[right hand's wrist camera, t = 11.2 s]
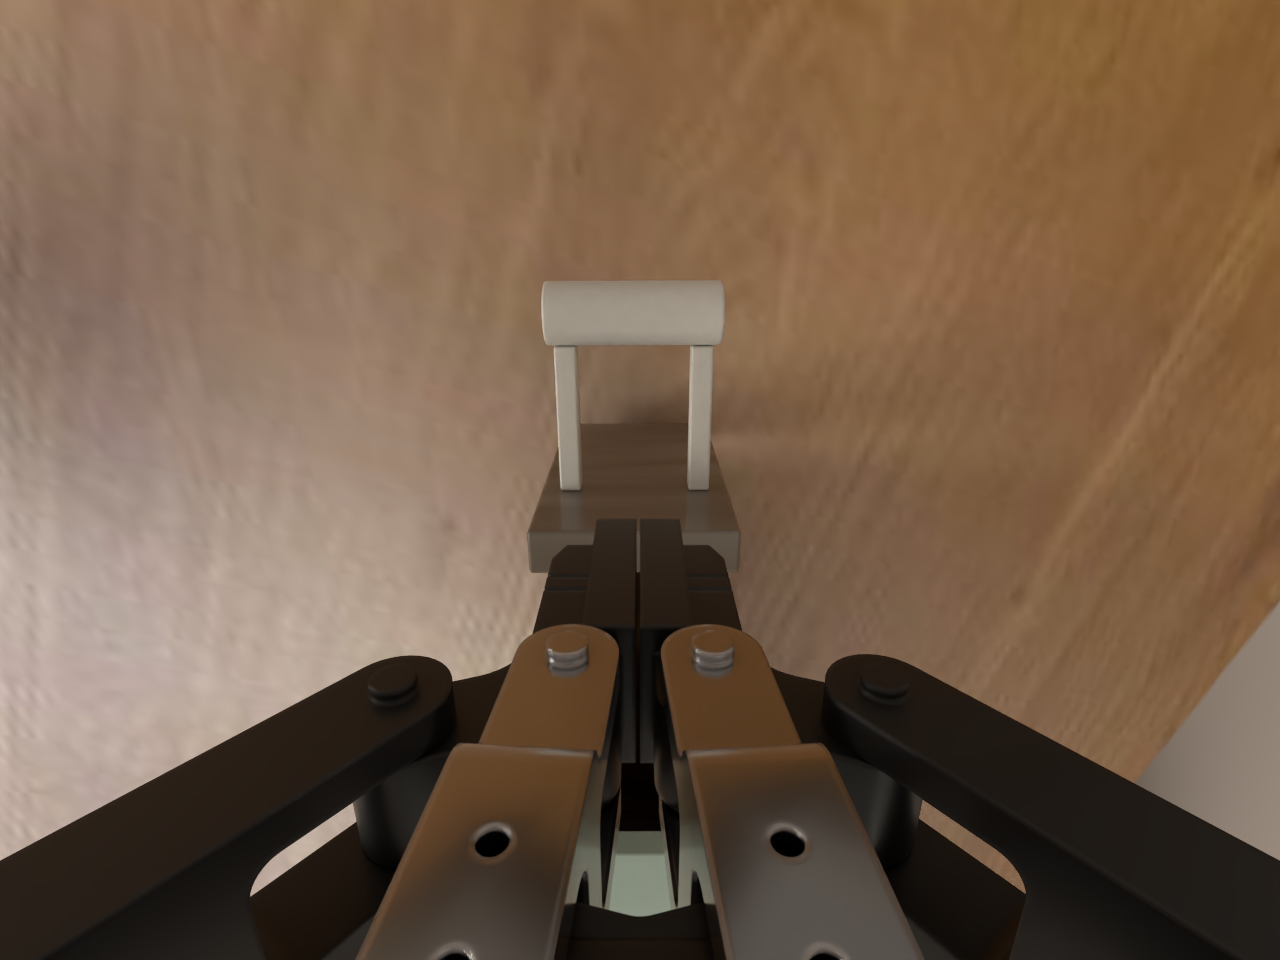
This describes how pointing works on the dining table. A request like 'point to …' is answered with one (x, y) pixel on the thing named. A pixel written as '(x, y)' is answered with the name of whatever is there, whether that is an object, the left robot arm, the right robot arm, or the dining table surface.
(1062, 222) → the dining table surface
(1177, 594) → the dining table surface
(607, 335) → the drawer
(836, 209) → the dining table surface
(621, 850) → the cabinet
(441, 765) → the right robot arm
